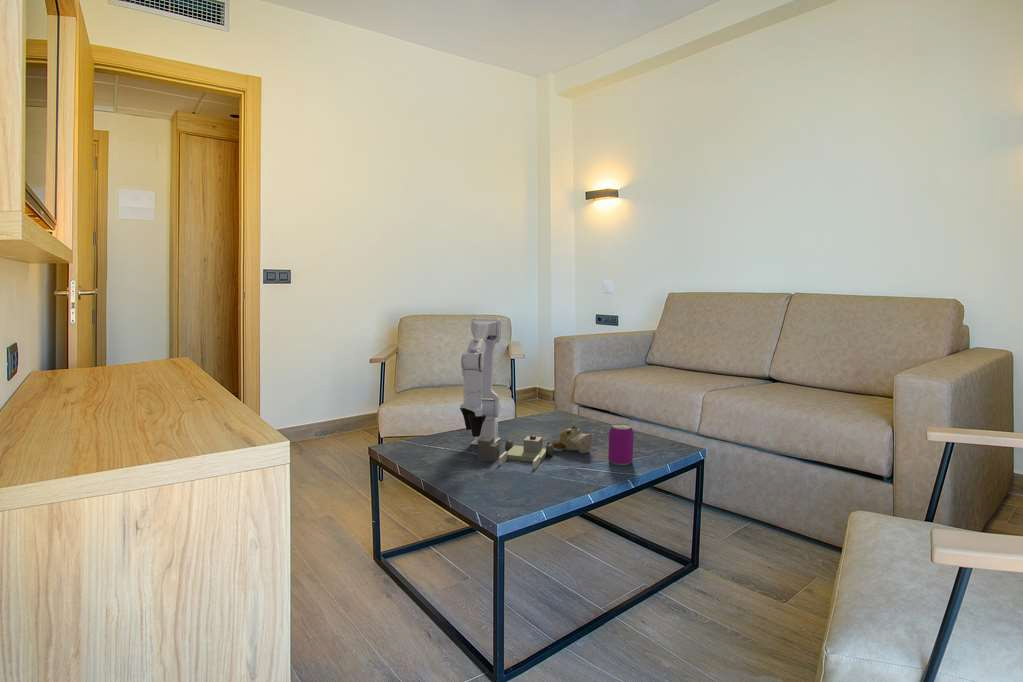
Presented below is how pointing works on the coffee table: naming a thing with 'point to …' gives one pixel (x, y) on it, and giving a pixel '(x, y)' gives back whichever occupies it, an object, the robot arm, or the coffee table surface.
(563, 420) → the coffee table surface
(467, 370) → the robot arm
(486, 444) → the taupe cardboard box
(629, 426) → the beverage can
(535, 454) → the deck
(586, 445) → the ceramic sculpture
